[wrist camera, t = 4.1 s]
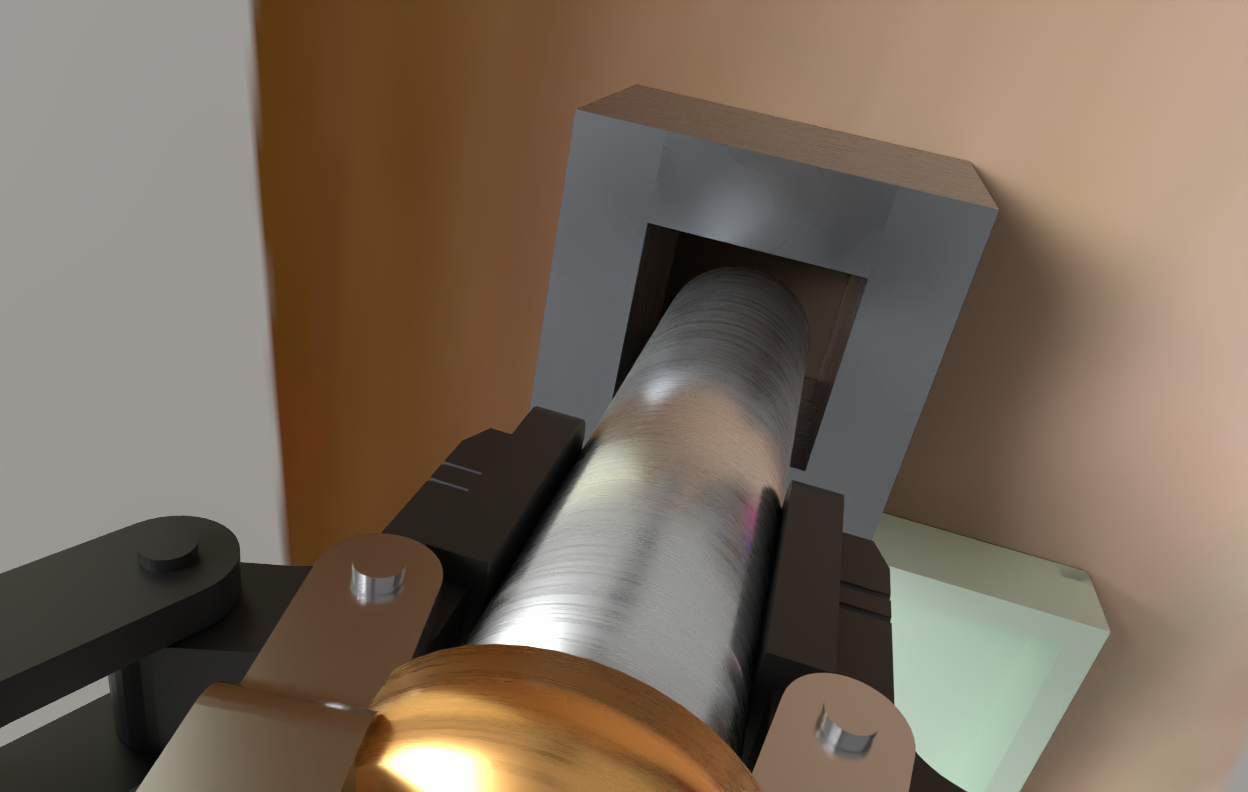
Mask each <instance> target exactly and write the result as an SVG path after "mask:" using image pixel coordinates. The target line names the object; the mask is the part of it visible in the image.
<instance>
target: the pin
mask: <svg viewBox="0 0 1248 792" xmlns="http://www.w3.org/2000/svg"><path fill="white" fill-rule="evenodd" d="M809 342H810V333H809V325H808V320H807V317H806V315H805V312H804V310H803V308H802V306H801V304H800V302H799V301H798V299H797V298H796V296H795V295H794V294H793V293H792V292H791V291H790V290H789V289H788V288H787V287H786V286H785V285H784V284H783V283H781V282H780V281H779V280H777V279H776V278H774V277H772V276H770V275H768V274H766V273H764V272H761V271H758V270H755V269H751V268H746V267H722V268H717V269H713V270H710V271H707V272H705V273H703V274H701V275H699V276H697V277H695V278H694V279H692V280H691V281H689V282H688V283H687V284H686V285H685V286H684V287H683V288H682V289H681V290H680V291H679V292H678V294H677V295H676V297H675V298H674V300H673V301H672V303H671V304H670V306H669V308H668V309H667V311H666V313H665V314H664V316H663V318H662V319H661V321H660V323H659V324H658V326H657V327H656V329H655V331H654V332H653V334H652V336H651V337H650V339H649V341H648V342H647V344H646V346H645V347H644V349H643V350H642V352H641V354H640V355H639V357H638V359H637V360H636V362H635V364H634V365H633V367H632V369H631V370H630V372H629V373H628V375H627V377H626V378H625V380H624V382H623V383H622V385H621V387H620V388H619V390H618V392H617V393H616V395H615V396H614V398H613V400H612V401H611V403H610V405H609V406H608V408H607V410H606V411H605V413H604V415H603V416H602V418H601V420H600V421H599V423H598V424H597V426H596V428H595V429H594V431H593V433H592V434H591V436H590V438H589V439H588V441H587V443H586V444H585V446H584V447H583V449H582V451H581V452H580V454H579V456H578V457H577V459H576V461H575V462H574V464H573V466H572V467H571V469H570V470H569V472H568V474H567V475H566V477H565V479H564V480H563V482H562V484H561V485H560V487H559V489H558V490H557V492H556V494H555V495H554V497H553V498H552V500H551V502H550V503H549V505H548V507H547V508H546V510H545V512H544V513H543V515H542V517H541V518H540V520H539V521H538V523H537V525H536V526H535V528H534V530H533V531H532V533H531V535H530V536H529V538H528V540H527V541H526V543H525V544H524V546H523V548H522V549H521V551H520V553H519V554H518V556H517V558H516V559H515V561H514V563H513V564H512V566H511V567H510V569H509V571H508V572H507V574H506V576H505V577H504V579H503V581H502V582H501V584H500V586H499V587H498V589H497V590H496V592H495V594H494V595H493V597H492V599H491V600H490V602H489V604H488V605H487V607H486V609H485V610H484V612H483V613H482V615H481V617H480V618H479V620H478V622H477V623H476V625H475V627H474V628H473V630H472V631H471V633H470V635H469V636H468V638H467V640H466V641H465V643H464V645H463V646H460V647H454V648H449V649H444V650H439V651H436V652H433V653H430V654H427V655H424V656H421V657H418V658H415V659H413V660H411V661H410V662H408V663H406V664H404V665H402V666H400V667H398V668H396V669H394V671H393V672H392V674H391V675H390V676H389V678H388V679H387V681H386V682H385V684H384V685H383V687H382V688H381V690H380V691H379V692H378V694H377V695H376V697H375V698H374V700H373V701H372V703H371V704H370V706H369V708H368V709H369V710H374V711H380V712H381V713H382V715H381V717H380V719H379V721H378V723H377V726H376V728H375V730H374V732H373V734H372V736H371V738H370V741H369V743H368V745H367V747H366V749H365V751H364V753H363V756H362V758H361V760H360V762H359V764H358V766H357V769H356V785H355V792H763V790H762V789H761V787H760V786H759V784H758V783H757V781H756V779H755V778H754V776H753V775H752V773H751V772H750V770H749V769H748V768H747V767H746V765H745V764H744V763H743V762H742V760H741V759H742V753H743V747H744V741H745V735H746V729H747V723H748V712H749V699H750V693H751V687H752V681H753V675H754V669H755V663H756V657H757V651H758V645H759V639H760V633H761V627H762V621H763V615H764V609H765V603H766V597H767V591H768V585H769V579H770V573H771V567H772V561H773V555H774V549H775V543H776V537H777V531H778V525H779V519H780V513H781V508H782V505H783V501H784V497H785V491H786V485H787V479H788V473H789V467H790V460H791V454H792V448H793V442H794V436H795V430H796V424H797V418H798V412H799V405H800V399H801V393H802V387H803V381H804V375H805V369H806V363H807V357H808V351H809Z"/></svg>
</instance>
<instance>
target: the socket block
mask: <svg viewBox="0 0 1248 792" xmlns="http://www.w3.org/2000/svg"><path fill="white" fill-rule="evenodd" d="M998 212H999V208H998V207H997V205H996V204H995V202H994V200H993V199H992V197H991V195H990V194H989V192H988V190H987V189H986V187H985V185H984V184H983V182H982V180H981V179H980V177H979V175H978V174H977V172H976V171H975V169H974V167H973V166H972V164H971V162H969V161H964V160H960V159H956V158H951V157H947V156H943V155H938V154H934V153H930V152H925V151H921V150H917V149H913V148H908V147H904V146H900V145H895V144H891V143H887V142H882V141H878V140H874V139H869V138H865V137H861V136H856V135H852V134H848V133H843V132H839V131H835V130H830V129H826V128H822V127H817V126H813V125H809V124H804V123H800V122H796V121H791V120H787V119H783V118H778V117H774V116H770V115H765V114H761V113H757V112H752V111H748V110H744V109H739V108H735V107H731V106H726V105H722V104H718V103H713V102H709V101H705V100H700V99H696V98H692V97H687V96H683V95H679V94H674V93H670V92H666V91H661V90H657V89H653V88H648V87H644V86H640V85H634V86H631V87H629V88H626V89H624V90H622V91H619V92H617V93H614V94H612V95H609V96H607V97H604V98H602V99H600V100H597V101H595V102H592V103H590V104H587V105H585V106H582V107H580V108H578V109H576V111H575V118H574V124H573V131H572V137H571V144H570V150H569V157H568V163H567V170H566V176H565V183H564V189H563V196H562V202H561V209H560V215H559V222H558V228H557V235H556V241H555V248H554V254H553V261H552V267H551V274H550V280H549V287H548V293H547V300H546V306H545V313H544V319H543V326H542V332H541V339H540V345H539V352H538V358H537V365H536V371H535V378H534V384H533V391H532V397H531V404H530V410H529V412H530V411H531V409H532V408H533V407H535V406H539V407H542V408H546V409H549V410H552V411H556V412H559V413H563V414H566V415H570V416H573V417H577V418H580V419H584V420H585V424H586V427H585V436H584V442H583V447H584V446H585V444H586V443H587V441H588V439H589V438H590V436H591V434H592V433H593V431H594V429H595V428H596V426H597V424H598V423H599V421H600V420H601V418H602V416H603V415H604V413H605V411H606V410H607V408H608V406H609V405H610V403H611V401H612V400H613V398H614V396H615V395H616V393H617V392H618V390H619V388H620V387H621V385H622V383H623V382H624V380H625V378H626V377H627V375H628V373H629V372H630V370H631V369H632V367H633V365H634V364H635V362H636V360H637V359H638V357H639V355H640V354H641V352H642V350H643V349H644V347H645V346H646V344H647V342H648V341H649V339H650V337H651V336H652V334H653V332H654V331H655V329H656V327H657V326H658V324H659V323H660V318H661V314H662V309H663V305H664V300H665V296H666V291H667V286H668V282H669V277H670V273H671V268H672V264H673V259H674V255H675V250H676V245H677V241H678V236H679V232H680V231H683V232H687V233H691V234H695V235H698V236H702V237H706V238H710V239H714V240H718V241H722V242H726V243H730V244H734V245H738V246H742V247H746V248H750V249H754V250H758V251H762V252H766V253H770V254H774V255H777V256H781V257H785V258H789V259H793V260H797V261H801V262H805V263H809V264H813V265H817V266H821V267H825V268H829V269H833V270H837V271H841V272H845V273H849V274H850V277H849V280H848V283H847V287H846V290H845V293H844V296H843V299H842V302H841V305H840V309H839V312H838V315H837V318H836V321H835V324H834V327H833V331H832V334H831V337H830V340H829V343H828V346H827V350H826V353H825V356H824V359H823V362H822V365H821V368H820V372H819V375H818V378H817V380H815V379H811V378H807V377H804V381H803V387H802V393H801V399H800V405H799V412H798V418H797V424H796V430H795V436H794V442H793V448H792V454H791V460H790V467H789V473H788V479H787V485H786V491H785V495H786V492H787V489H788V487H789V484H790V482H791V480H795V481H798V482H802V483H805V484H809V485H812V486H815V487H819V488H822V489H826V490H829V491H833V492H836V493H840V494H843V495H844V516H843V532H844V533H848V534H851V535H855V536H858V537H861V538H865V539H868V540H872V539H873V536H874V534H875V531H876V528H877V526H878V523H879V521H880V518H881V515H882V513H883V510H884V508H885V505H886V502H887V500H888V497H889V495H890V492H891V489H892V487H893V484H894V482H895V479H896V477H897V474H898V471H899V469H900V466H901V464H902V461H903V458H904V456H905V453H906V451H907V448H908V445H909V443H910V440H911V438H912V435H913V432H914V430H915V427H916V425H917V422H918V419H919V417H920V414H921V412H922V409H923V406H924V404H925V401H926V399H927V396H928V393H929V391H930V388H931V386H932V383H933V380H934V378H935V375H936V373H937V370H938V367H939V365H940V362H941V360H942V357H943V355H944V352H945V349H946V347H947V344H948V342H949V339H950V336H951V334H952V331H953V329H954V326H955V323H956V321H957V318H958V316H959V313H960V310H961V308H962V305H963V303H964V300H965V297H966V295H967V292H968V290H969V287H970V284H971V282H972V279H973V277H974V274H975V271H976V269H977V266H978V264H979V261H980V258H981V256H982V253H983V251H984V248H985V245H986V243H987V240H988V238H989V235H990V232H991V230H992V227H993V225H994V222H995V220H996V217H997V214H998ZM583 447H582V449H583ZM784 498H785V497H784Z"/></svg>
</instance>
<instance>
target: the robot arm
mask: <svg viewBox="0 0 1248 792" xmlns="http://www.w3.org/2000/svg"><path fill="white" fill-rule="evenodd" d="M585 427H586V424H585V420H584V419H580V418H577V417H573V416H570V415H566V414H563V413H559V412H556V411H552V410H549V409H546V408H542V407H539V406H535V407H533V408H532V409H531V411H530V412H529V413H528V415H527V416H526V417H525V418H524V420H523V421H522V422H521V424H520V425H519V426H518V427H517V429H516V430H515V431H514V433H513V434H509V433H505V432H502V431H498V430H495V429H491V428H490V429H488V430H485V431H483V432H481V433H479V434H477V435H474V436H472V437H470V438H468V439H466V440H463V441H462V442H461V443H460V444H459V445H458V446H457V447H456V448H455V450H454V451H453V452H452V453H451V454H450V455H449V456H448V458H447V459H446V460H445V463H444V465H442V464H441V466H440V467H439V468H438V469H437V470H436V471H435V472H434V474H433V475H432V476H431V478H430V481H427V482H426V483H425V484H424V485H423V486H422V487H421V488H420V490H419V491H418V492H417V493H416V494H415V495H414V496H413V498H412V499H411V500H410V501H409V502H408V503H407V504H406V505H405V507H404V508H403V509H402V510H401V511H400V512H399V513H398V515H397V516H396V517H395V518H394V519H393V520H392V521H391V523H390V524H389V525H388V526H387V527H386V528H385V529H384V531H383V532H382V533H381V534H379V533H376V534H365V535H359V536H355V537H351V538H348V539H345V540H343V541H341V542H338V543H336V544H335V545H333V546H331V547H330V548H328V549H327V550H326V551H325V552H324V553H323V554H321V556H320V557H319V558H318V560H317V561H316V563H315V564H314V566H284V565H270V564H256V563H243V562H240V547H239V542H238V540H237V538H236V536H235V535H234V534H233V533H232V532H231V531H230V530H229V529H228V528H226V527H225V526H223V525H221V524H219V523H217V522H215V521H212V520H208V519H205V518H200V517H192V516H167V517H160V518H154V519H150V520H146V521H143V522H140V523H136V524H133V525H131V526H128V527H125V528H123V529H120V530H117V531H115V532H112V533H109V534H107V535H104V536H101V537H98V538H96V539H93V540H90V541H88V542H85V543H82V544H80V545H77V546H74V547H72V548H69V549H66V550H63V551H61V552H58V553H55V554H52V555H50V556H47V557H44V558H42V559H39V560H36V561H34V562H31V563H28V564H26V565H23V566H20V567H18V568H15V569H12V570H10V571H7V572H4V573H1V574H0V728H1V727H3V726H5V725H7V724H9V723H10V722H13V721H15V720H17V719H19V718H21V717H23V716H25V715H27V714H29V713H31V712H33V711H35V710H38V709H40V708H42V707H44V706H46V705H48V704H50V703H52V702H54V701H56V700H58V699H60V698H62V697H64V696H66V695H68V694H70V693H73V692H75V691H76V690H79V689H81V688H83V687H85V686H87V685H89V684H91V683H93V682H95V681H97V680H99V679H101V678H103V677H105V676H107V675H108V678H109V686H110V693H108V694H106V695H104V696H102V697H100V698H98V699H96V700H94V701H92V702H91V703H88V704H86V705H85V706H82V707H80V708H78V709H76V710H74V711H72V712H70V713H68V714H66V715H64V716H62V717H60V718H58V719H56V720H54V721H52V722H50V723H48V724H46V725H44V726H42V727H40V728H38V729H36V730H34V731H32V732H30V733H28V734H26V735H24V736H22V737H20V738H18V739H16V740H14V741H13V742H10V743H8V744H7V745H5V746H2V747H0V792H355V785H356V769H357V766H358V764H359V762H360V760H361V758H362V756H363V753H364V751H365V749H366V747H367V745H368V743H369V741H370V738H371V736H372V734H373V732H374V730H375V728H376V726H377V723H378V721H379V719H380V717H381V715H382V713H381V712H380V711H374V710H369V709H368V708H369V706H370V704H371V703H372V701H373V700H374V698H375V697H376V695H377V694H378V692H379V691H380V690H381V688H382V687H383V685H384V684H385V682H386V681H387V679H388V678H389V676H390V675H391V674H392V672H393V671H394V669H396V668H398V667H400V666H402V665H404V664H406V663H408V662H410V661H411V660H413V659H415V658H418V657H421V656H424V655H427V654H430V653H433V652H436V651H439V650H444V649H449V648H454V647H460V646H463V645H464V643H465V641H466V640H467V638H468V636H469V635H470V633H471V631H472V630H473V628H474V627H475V625H476V623H477V622H478V620H479V618H480V617H481V615H482V613H483V612H484V610H485V609H486V607H487V605H488V604H489V602H490V600H491V599H492V597H493V595H494V594H495V592H496V590H497V589H498V587H499V586H500V584H501V582H502V581H503V579H504V577H505V576H506V574H507V572H508V571H509V569H510V567H511V566H512V564H513V563H514V561H515V559H516V558H517V556H518V554H519V553H520V551H521V549H522V548H523V546H524V544H525V543H526V541H527V540H528V538H529V536H530V535H531V533H532V531H533V530H534V528H535V526H536V525H537V523H538V521H539V520H540V518H541V517H542V515H543V513H544V512H545V510H546V508H547V507H548V505H549V503H550V502H551V500H552V498H553V497H554V495H555V494H556V492H557V490H558V489H559V487H560V485H561V484H562V482H563V480H564V479H565V477H566V475H567V474H568V472H569V470H570V469H571V467H572V466H573V464H574V462H575V461H576V459H577V457H578V456H579V454H580V452H581V451H582V447H583V442H584V436H585ZM843 516H844V495H843V494H840V493H836V492H833V491H829V490H826V489H822V488H819V487H815V486H812V485H809V484H805V483H802V482H798V481H795V480H791V482H790V484H789V487H788V489H787V492H786V495H785V498H784V501H783V505H782V508H781V513H780V519H779V525H778V531H777V537H776V543H775V549H774V555H773V561H772V567H771V573H770V579H769V585H768V591H767V597H766V603H765V609H764V615H763V621H762V627H761V633H760V639H759V645H758V651H757V657H756V663H755V669H754V675H753V681H752V687H751V693H750V699H749V712H748V723H747V729H746V735H745V741H744V747H743V753H742V759H741V760H742V762H743V763H744V764H745V765H746V767H747V768H748V769H749V770H750V772H751V773H752V775H753V776H754V778H755V779H756V781H757V783H758V784H759V786H760V787H761V789H762V790H763V792H967V791H965V790H964V789H962V788H960V787H959V786H957V785H955V784H954V783H952V782H951V781H949V780H948V779H946V778H945V777H943V776H942V775H940V774H939V773H938V772H937V771H935V770H934V769H933V768H932V767H930V766H929V765H928V764H927V763H926V762H925V761H924V760H923V759H922V758H921V757H920V756H919V755H918V753H917V752H916V751H915V750H916V745H915V739H914V735H913V733H912V730H911V727H910V726H909V724H908V722H907V720H906V719H905V717H904V716H903V715H902V713H901V712H900V711H899V709H898V708H897V707H896V706H895V703H894V674H893V644H892V623H890V621H891V618H892V615H891V600H890V596H891V585H890V568H889V566H888V565H887V563H886V561H885V560H884V558H883V556H882V554H881V553H880V551H879V549H878V548H877V546H876V544H875V543H874V541H872V540H868V539H865V538H861V537H858V536H855V535H851V534H848V533H844V532H843Z"/></svg>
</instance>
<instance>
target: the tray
mask: <svg viewBox="0 0 1248 792" xmlns="http://www.w3.org/2000/svg"><path fill="white" fill-rule="evenodd" d="M872 541H874V543H875V544H876V546H877V548H878V549H879V551H880V553H881V554H882V556H883V558H884V560H885V561H886V563H887V565H888V566H889V568H890V585H891V596H890V600H891V615H892V618H891V621H890V623H892V644H893V674H894V703H895V706H896V707H897V708H898V709H899V711H900V712H901V713H902V715H903V716H904V717H905V719H906V720H907V722H908V724H909V726H910V727H911V730H912V733H913V735H914V739H915V745H916V750H915V751H916V752H917V753H918V755H919V756H920V757H921V758H922V759H923V760H924V761H925V762H926V763H927V764H928V765H929V766H930V767H932V768H933V769H934V770H935V771H937V772H938V773H939V774H940V775H942V776H943V777H945V778H946V779H948V780H949V781H951V782H952V783H954V784H955V785H957V786H959V787H960V788H962V789H964V790H965V791H967V792H1020V790H1021V788H1022V787H1023V785H1024V783H1025V781H1026V780H1027V778H1028V776H1029V774H1030V773H1031V771H1032V769H1033V767H1034V766H1035V764H1036V762H1037V760H1038V759H1039V757H1040V755H1041V753H1042V752H1043V750H1044V748H1045V746H1046V745H1047V743H1048V741H1049V739H1050V738H1051V736H1052V734H1053V732H1054V731H1055V729H1056V727H1057V725H1058V724H1059V722H1060V720H1061V718H1062V717H1063V715H1064V713H1065V711H1066V710H1067V708H1068V706H1069V704H1070V702H1071V701H1072V699H1073V697H1074V695H1075V694H1076V692H1077V690H1078V688H1079V687H1080V685H1081V683H1082V681H1083V680H1084V678H1085V676H1086V674H1087V673H1088V671H1089V669H1090V667H1091V666H1092V664H1093V662H1094V660H1095V659H1096V657H1097V655H1098V653H1099V652H1100V650H1101V648H1102V646H1103V645H1104V643H1105V641H1106V639H1107V638H1108V636H1109V634H1110V632H1111V631H1110V629H1109V626H1108V623H1107V621H1106V618H1105V616H1104V613H1103V610H1102V608H1101V605H1100V602H1099V600H1098V597H1097V595H1096V592H1095V589H1094V587H1093V584H1092V581H1091V579H1090V576H1089V574H1088V572H1086V571H1083V570H1079V569H1076V568H1072V567H1069V566H1065V565H1062V564H1058V563H1055V562H1052V561H1048V560H1045V559H1041V558H1038V557H1034V556H1031V555H1027V554H1024V553H1020V552H1017V551H1014V550H1010V549H1007V548H1003V547H1000V546H996V545H993V544H989V543H986V542H982V541H979V540H976V539H972V538H969V537H965V536H962V535H958V534H955V533H951V532H948V531H944V530H941V529H937V528H934V527H931V526H927V525H924V524H920V523H917V522H913V521H910V520H906V519H903V518H899V517H896V516H893V515H889V514H886V513H882V515H881V518H880V521H879V523H878V526H877V528H876V531H875V534H874V536H873V539H872Z"/></svg>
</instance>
